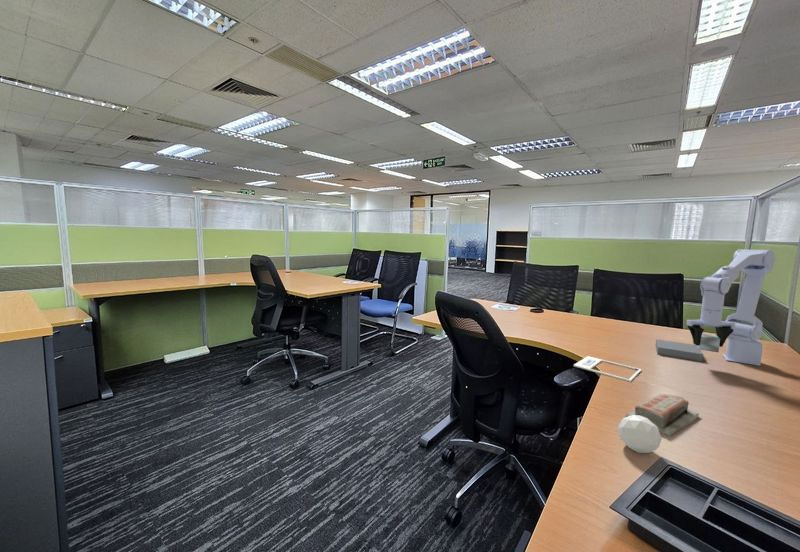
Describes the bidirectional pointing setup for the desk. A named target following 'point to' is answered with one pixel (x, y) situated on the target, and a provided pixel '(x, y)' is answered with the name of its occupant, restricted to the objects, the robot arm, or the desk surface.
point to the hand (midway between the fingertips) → (707, 345)
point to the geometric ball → (639, 434)
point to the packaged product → (666, 413)
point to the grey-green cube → (709, 343)
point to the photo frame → (592, 362)
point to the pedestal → (678, 350)
